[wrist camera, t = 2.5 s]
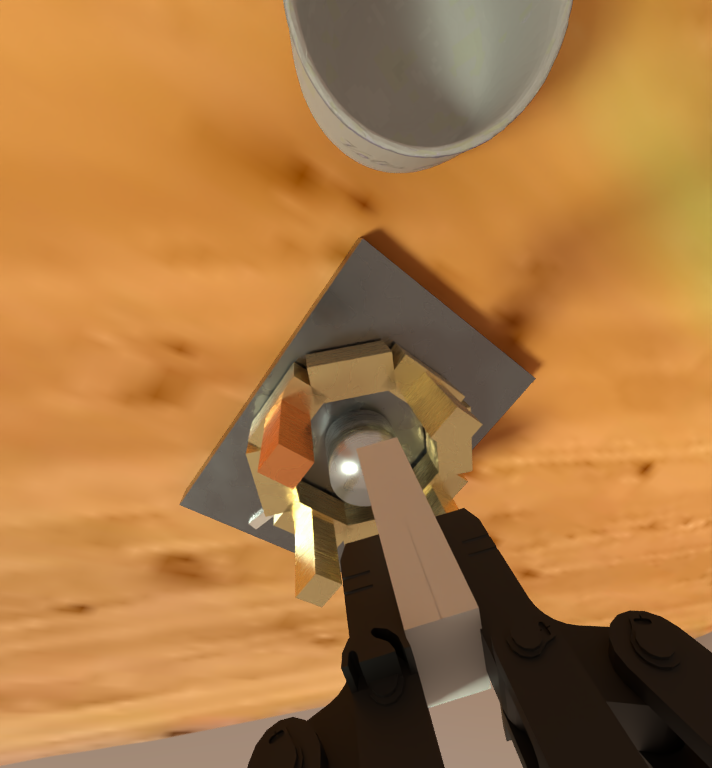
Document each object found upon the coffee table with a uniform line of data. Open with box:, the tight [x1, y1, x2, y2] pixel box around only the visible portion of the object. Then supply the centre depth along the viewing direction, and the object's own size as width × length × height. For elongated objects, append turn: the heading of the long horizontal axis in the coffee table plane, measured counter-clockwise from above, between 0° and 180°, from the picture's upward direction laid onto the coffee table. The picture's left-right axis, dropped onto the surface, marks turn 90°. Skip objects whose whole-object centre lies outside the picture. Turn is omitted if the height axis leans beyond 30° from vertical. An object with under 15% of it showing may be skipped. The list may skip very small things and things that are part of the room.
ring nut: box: [246, 340, 483, 607], centre depth 23 cm, size 14×14×8 cm
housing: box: [180, 238, 536, 572], centre depth 26 cm, size 16×22×6 cm
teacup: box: [283, 0, 573, 173], centre depth 17 cm, size 14×11×8 cm
